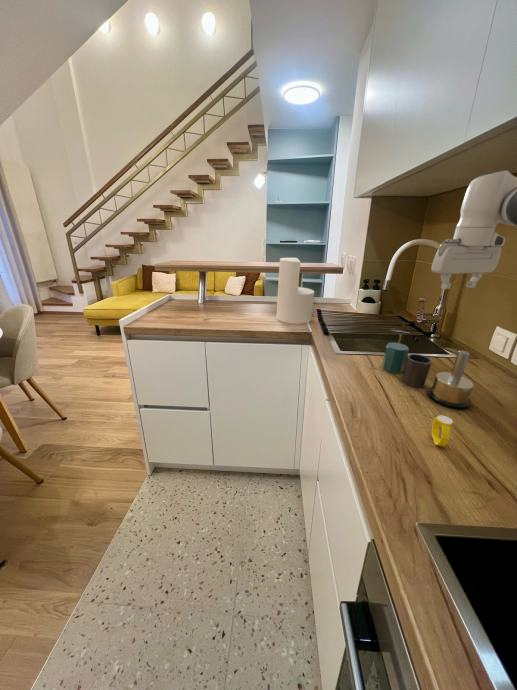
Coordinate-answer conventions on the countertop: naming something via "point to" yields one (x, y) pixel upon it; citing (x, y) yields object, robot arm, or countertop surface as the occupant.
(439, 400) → the towel holder
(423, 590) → the countertop surface
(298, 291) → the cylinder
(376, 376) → the countertop surface
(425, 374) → the charcoal cup
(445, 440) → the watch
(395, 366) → the teal cup
